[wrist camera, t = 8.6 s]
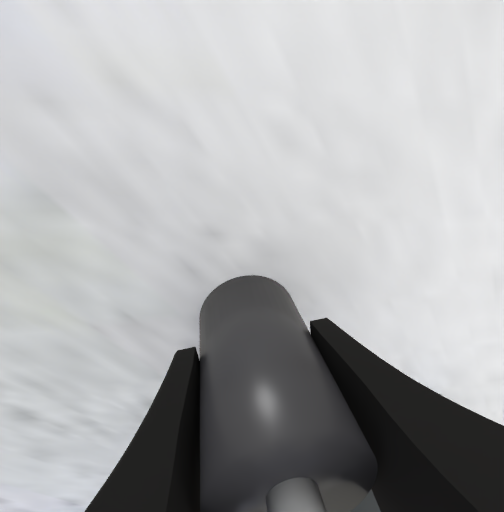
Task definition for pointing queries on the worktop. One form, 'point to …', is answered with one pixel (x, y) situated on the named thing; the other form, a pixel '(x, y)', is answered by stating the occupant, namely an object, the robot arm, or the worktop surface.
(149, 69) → the worktop surface
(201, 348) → the plug
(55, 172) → the worktop surface
